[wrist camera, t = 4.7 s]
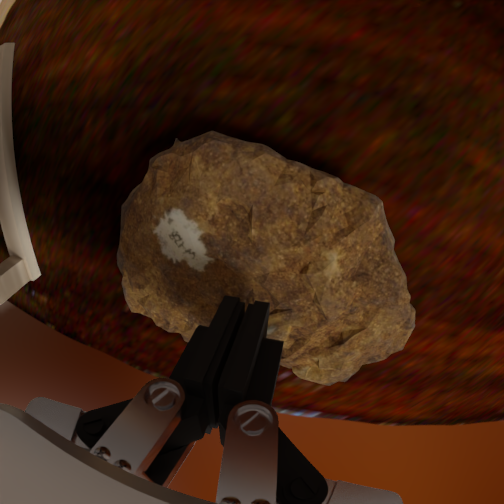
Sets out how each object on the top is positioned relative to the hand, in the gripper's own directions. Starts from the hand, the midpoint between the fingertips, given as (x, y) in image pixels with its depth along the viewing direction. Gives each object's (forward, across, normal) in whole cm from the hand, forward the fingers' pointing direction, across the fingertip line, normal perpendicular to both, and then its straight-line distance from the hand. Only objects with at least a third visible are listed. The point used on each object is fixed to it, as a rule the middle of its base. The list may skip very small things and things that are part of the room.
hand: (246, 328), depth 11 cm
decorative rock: (+5, 0, 0) cm, 5 cm away
